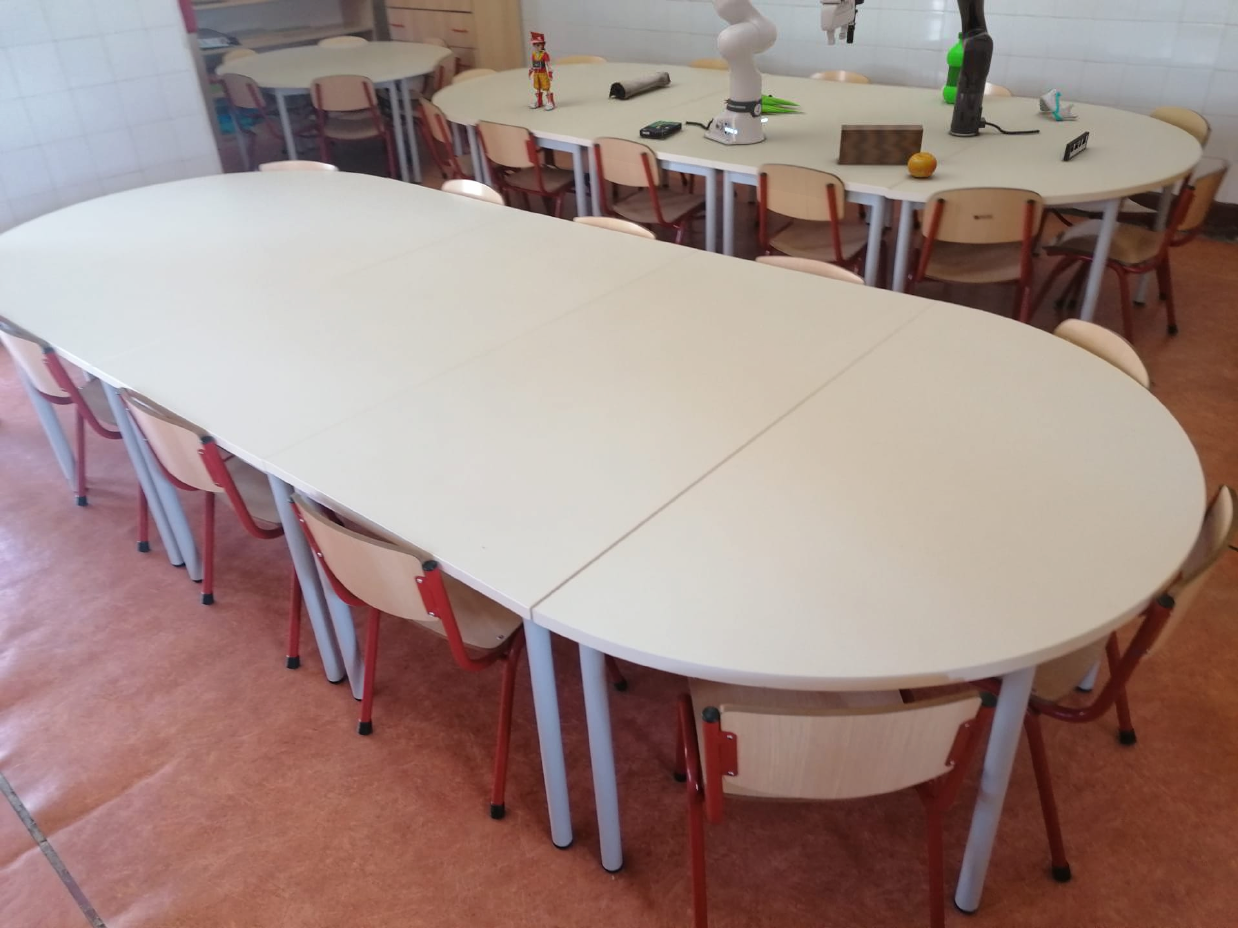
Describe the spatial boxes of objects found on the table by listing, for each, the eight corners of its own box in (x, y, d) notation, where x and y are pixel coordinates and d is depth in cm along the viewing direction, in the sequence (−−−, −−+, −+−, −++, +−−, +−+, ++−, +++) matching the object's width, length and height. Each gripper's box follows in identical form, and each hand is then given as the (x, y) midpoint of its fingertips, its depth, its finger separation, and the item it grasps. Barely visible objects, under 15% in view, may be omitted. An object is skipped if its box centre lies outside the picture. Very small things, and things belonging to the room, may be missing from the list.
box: (917, 159, 297) (922, 125, 290) (918, 165, 292) (923, 129, 286) (838, 159, 302) (841, 125, 295) (838, 164, 297) (841, 129, 291)
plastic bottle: (973, 101, 354) (984, 32, 339) (955, 106, 349) (966, 36, 335) (952, 97, 361) (962, 29, 346) (934, 102, 356) (944, 33, 342)
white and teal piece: (1033, 88, 332) (1060, 81, 331) (1032, 116, 338) (1059, 109, 337) (1052, 98, 319) (1080, 90, 318) (1051, 127, 325) (1079, 119, 324)
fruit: (901, 167, 279) (918, 144, 275) (903, 170, 286) (919, 147, 283) (924, 183, 277) (941, 160, 274) (925, 185, 285) (941, 162, 282)
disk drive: (663, 140, 332) (682, 129, 342) (663, 132, 330) (682, 122, 340) (639, 137, 336) (658, 127, 346) (638, 130, 335) (658, 119, 345)
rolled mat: (651, 76, 408) (662, 61, 399) (662, 93, 408) (674, 79, 400) (605, 92, 391) (616, 77, 383) (617, 110, 391) (628, 95, 383)
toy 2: (719, 111, 356) (789, 123, 343) (720, 98, 353) (791, 109, 341) (748, 101, 376) (815, 112, 364) (750, 88, 374) (817, 99, 361)
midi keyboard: (1067, 160, 287) (1070, 145, 284) (1062, 160, 288) (1066, 144, 285) (1086, 147, 297) (1090, 132, 294) (1082, 147, 298) (1085, 131, 295)
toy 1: (525, 109, 381) (517, 32, 364) (534, 104, 388) (527, 28, 371) (550, 110, 377) (543, 32, 360) (559, 105, 384) (553, 28, 367)
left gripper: (842, -12, 284) (839, 36, 292) (817, -2, 270) (815, 47, 278) (861, -12, 281) (858, 36, 289) (837, -2, 267) (835, 48, 275)
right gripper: (865, -9, 292) (861, 44, 301) (864, -16, 304) (860, 37, 313) (842, -8, 294) (838, 45, 303) (842, -15, 305) (838, 37, 314)
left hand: (836, 42), depth 283 cm, fingers open, 8 cm apart
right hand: (849, 41), depth 308 cm, fingers open, 8 cm apart
